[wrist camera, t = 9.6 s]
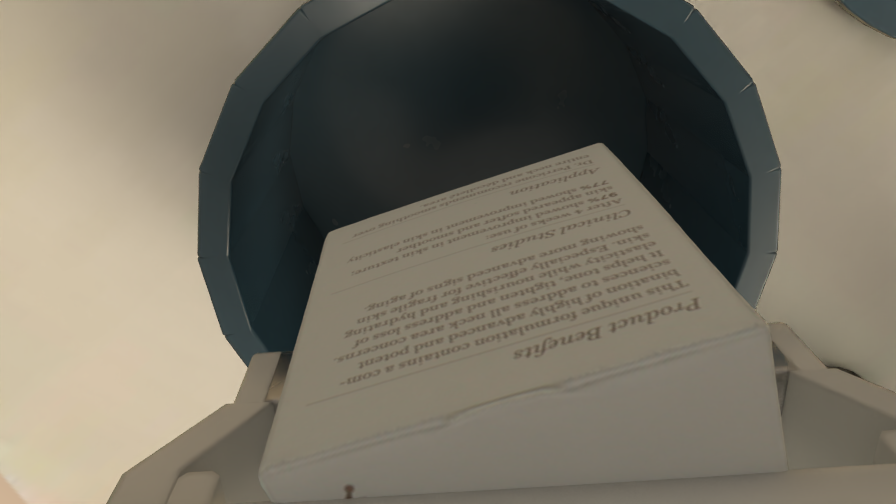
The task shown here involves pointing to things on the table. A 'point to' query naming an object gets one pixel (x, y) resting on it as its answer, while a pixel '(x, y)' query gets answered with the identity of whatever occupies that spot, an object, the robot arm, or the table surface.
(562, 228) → the product box
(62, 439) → the table surface
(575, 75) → the tin
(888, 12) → the tin lid
